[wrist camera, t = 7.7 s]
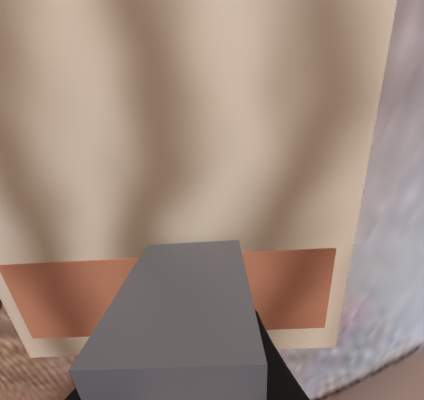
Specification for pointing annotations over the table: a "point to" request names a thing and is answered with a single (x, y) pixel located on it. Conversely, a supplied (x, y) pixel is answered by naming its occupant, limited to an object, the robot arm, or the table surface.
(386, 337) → the table surface
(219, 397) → the block
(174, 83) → the subfloor panel
